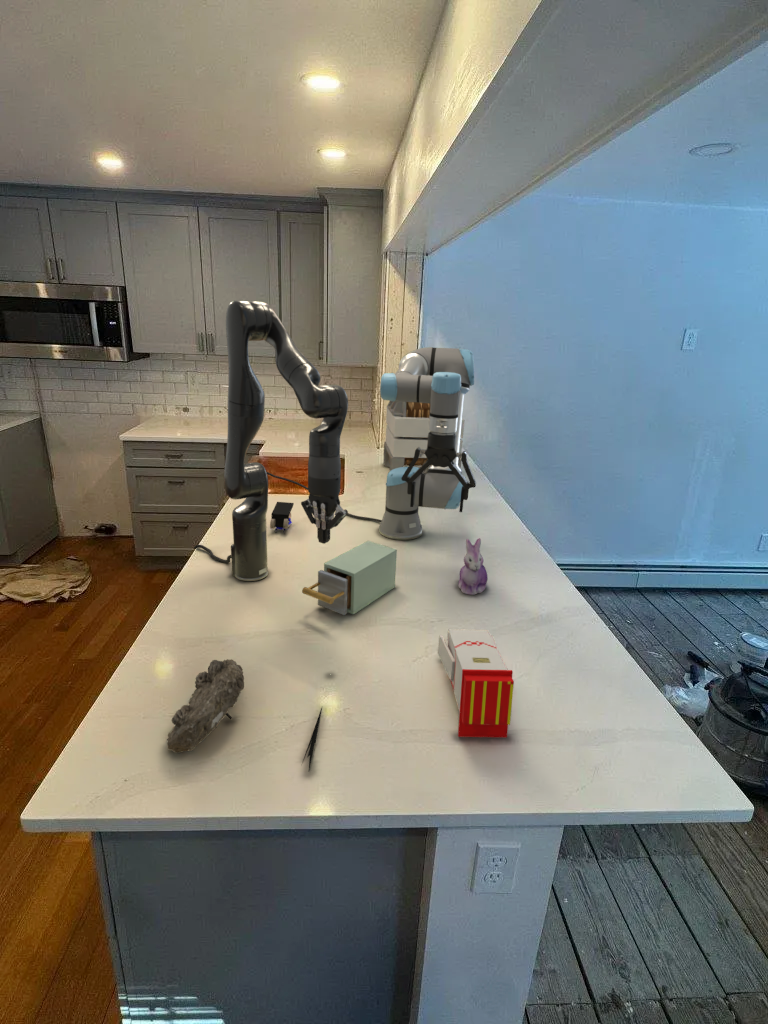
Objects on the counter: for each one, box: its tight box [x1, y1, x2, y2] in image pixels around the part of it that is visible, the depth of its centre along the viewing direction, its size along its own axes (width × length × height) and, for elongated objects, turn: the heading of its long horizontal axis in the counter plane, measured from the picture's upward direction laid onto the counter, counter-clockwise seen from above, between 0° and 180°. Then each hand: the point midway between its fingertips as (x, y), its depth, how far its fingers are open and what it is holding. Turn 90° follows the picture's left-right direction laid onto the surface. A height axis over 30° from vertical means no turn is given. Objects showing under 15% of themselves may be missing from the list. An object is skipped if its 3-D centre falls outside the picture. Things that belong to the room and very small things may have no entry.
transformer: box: [383, 400, 465, 472], centre depth 268 cm, size 34×33×41 cm
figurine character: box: [269, 501, 294, 534], centre depth 199 cm, size 7×8×15 cm
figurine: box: [457, 537, 488, 596], centre depth 160 cm, size 9×10×15 cm
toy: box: [437, 628, 515, 738], centre depth 117 cm, size 12×13×30 cm
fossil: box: [166, 658, 245, 754], centre depth 106 cm, size 22×10×15 cm
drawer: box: [301, 569, 351, 616], centre depth 149 cm, size 24×9×10 cm, turn 146°
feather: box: [301, 673, 332, 771], centre depth 108 cm, size 2×28×2 cm
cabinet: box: [323, 540, 398, 615], centre depth 155 cm, size 20×10×12 cm, turn 146°
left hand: (323, 542), depth 137 cm, fingers closed
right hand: (436, 508), depth 157 cm, fingers open, 13 cm apart
